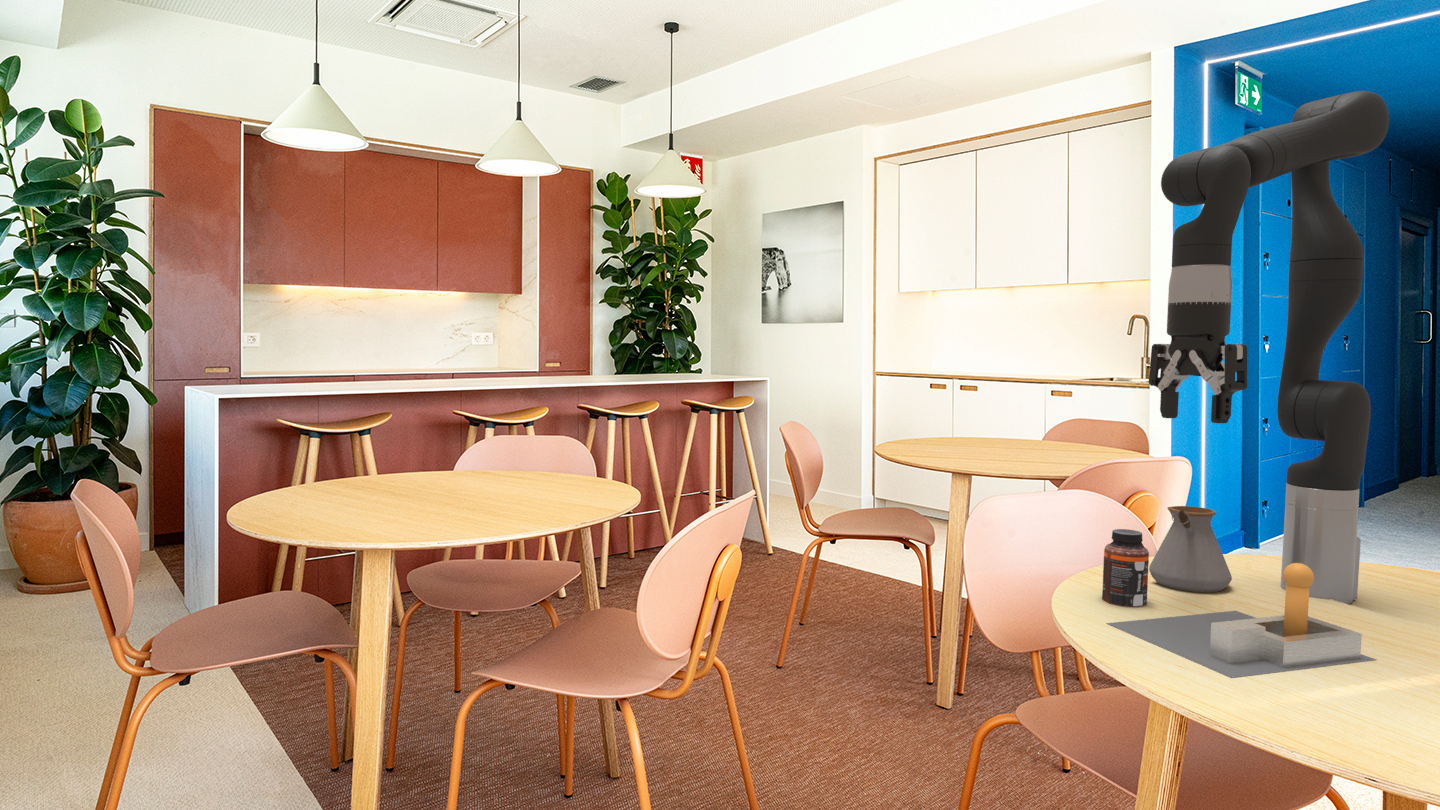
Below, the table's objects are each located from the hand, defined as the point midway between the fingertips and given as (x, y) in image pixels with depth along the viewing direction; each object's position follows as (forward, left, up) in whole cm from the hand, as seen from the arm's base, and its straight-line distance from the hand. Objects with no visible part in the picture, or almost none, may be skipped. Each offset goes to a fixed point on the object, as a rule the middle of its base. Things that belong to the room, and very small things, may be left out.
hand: (1193, 420), depth 120 cm
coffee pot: (-10, -10, -28) cm, 32 cm away
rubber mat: (+2, +10, -28) cm, 30 cm away
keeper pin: (-2, +15, -28) cm, 32 cm away
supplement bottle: (+3, -8, -28) cm, 30 cm away
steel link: (+1, +15, -27) cm, 31 cm away
